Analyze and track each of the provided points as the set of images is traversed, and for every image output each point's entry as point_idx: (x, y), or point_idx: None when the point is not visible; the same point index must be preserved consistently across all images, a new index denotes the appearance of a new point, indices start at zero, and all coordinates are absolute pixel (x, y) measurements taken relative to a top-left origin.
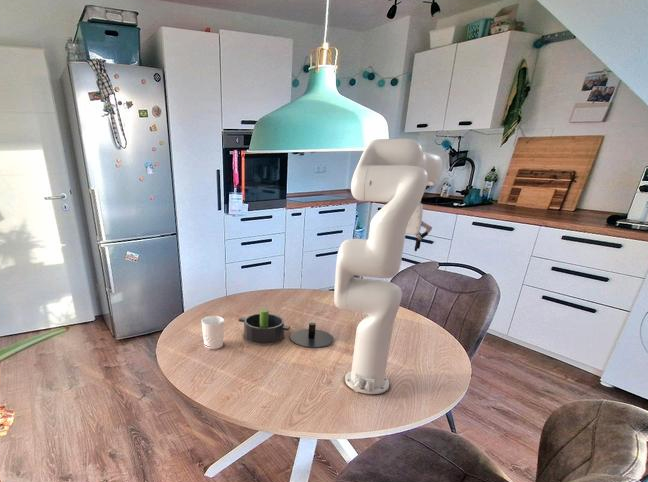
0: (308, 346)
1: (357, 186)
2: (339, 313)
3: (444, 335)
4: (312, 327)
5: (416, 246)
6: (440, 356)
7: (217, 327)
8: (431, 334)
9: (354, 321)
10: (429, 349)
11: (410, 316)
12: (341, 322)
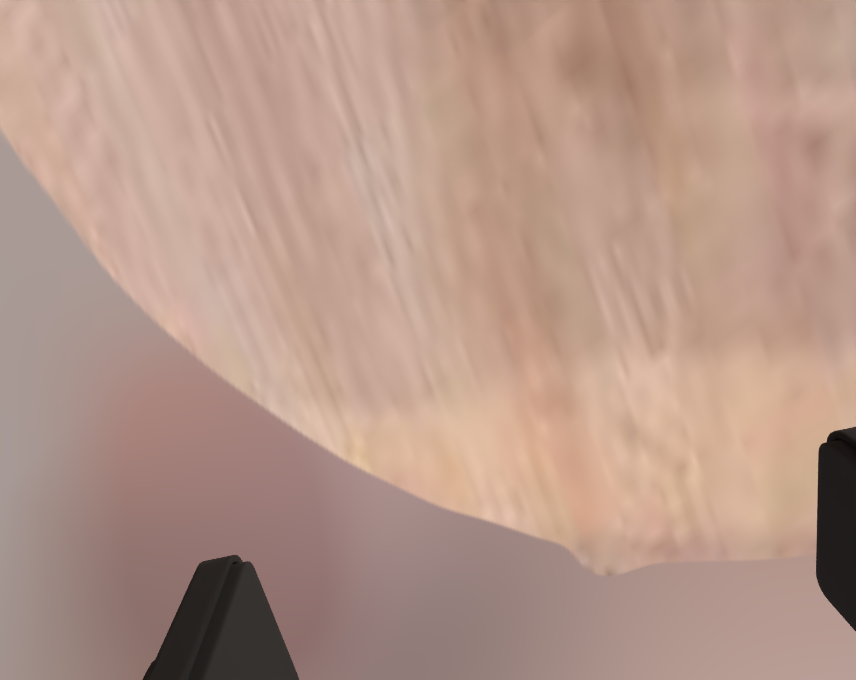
0: None
1: None
2: (764, 256)
3: (160, 324)
4: None
5: (179, 638)
6: (45, 15)
7: None
8: (216, 294)
9: (643, 193)
10: (134, 74)
11: (401, 461)
12: (710, 123)
